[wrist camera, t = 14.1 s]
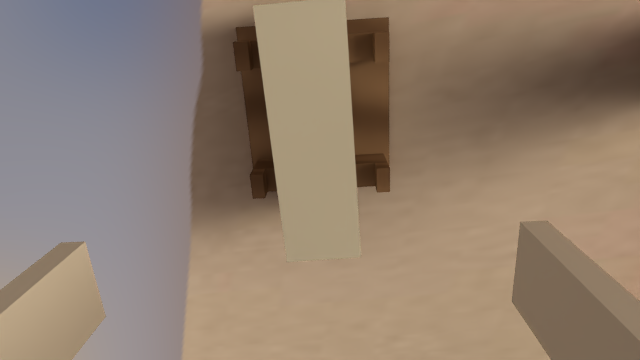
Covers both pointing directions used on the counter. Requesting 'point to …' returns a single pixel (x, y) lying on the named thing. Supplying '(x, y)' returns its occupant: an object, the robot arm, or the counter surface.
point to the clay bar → (311, 126)
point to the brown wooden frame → (366, 95)
